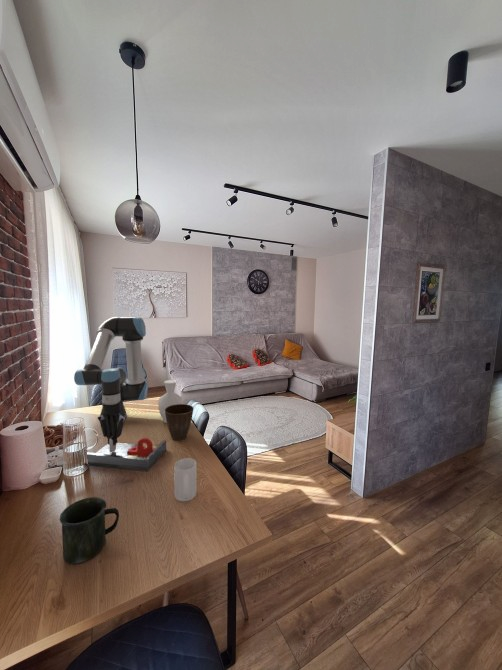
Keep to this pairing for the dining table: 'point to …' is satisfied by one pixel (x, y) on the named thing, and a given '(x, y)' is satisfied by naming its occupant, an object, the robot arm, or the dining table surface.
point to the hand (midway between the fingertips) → (112, 450)
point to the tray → (126, 457)
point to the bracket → (142, 448)
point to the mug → (85, 529)
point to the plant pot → (179, 420)
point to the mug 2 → (185, 479)
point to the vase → (168, 398)
